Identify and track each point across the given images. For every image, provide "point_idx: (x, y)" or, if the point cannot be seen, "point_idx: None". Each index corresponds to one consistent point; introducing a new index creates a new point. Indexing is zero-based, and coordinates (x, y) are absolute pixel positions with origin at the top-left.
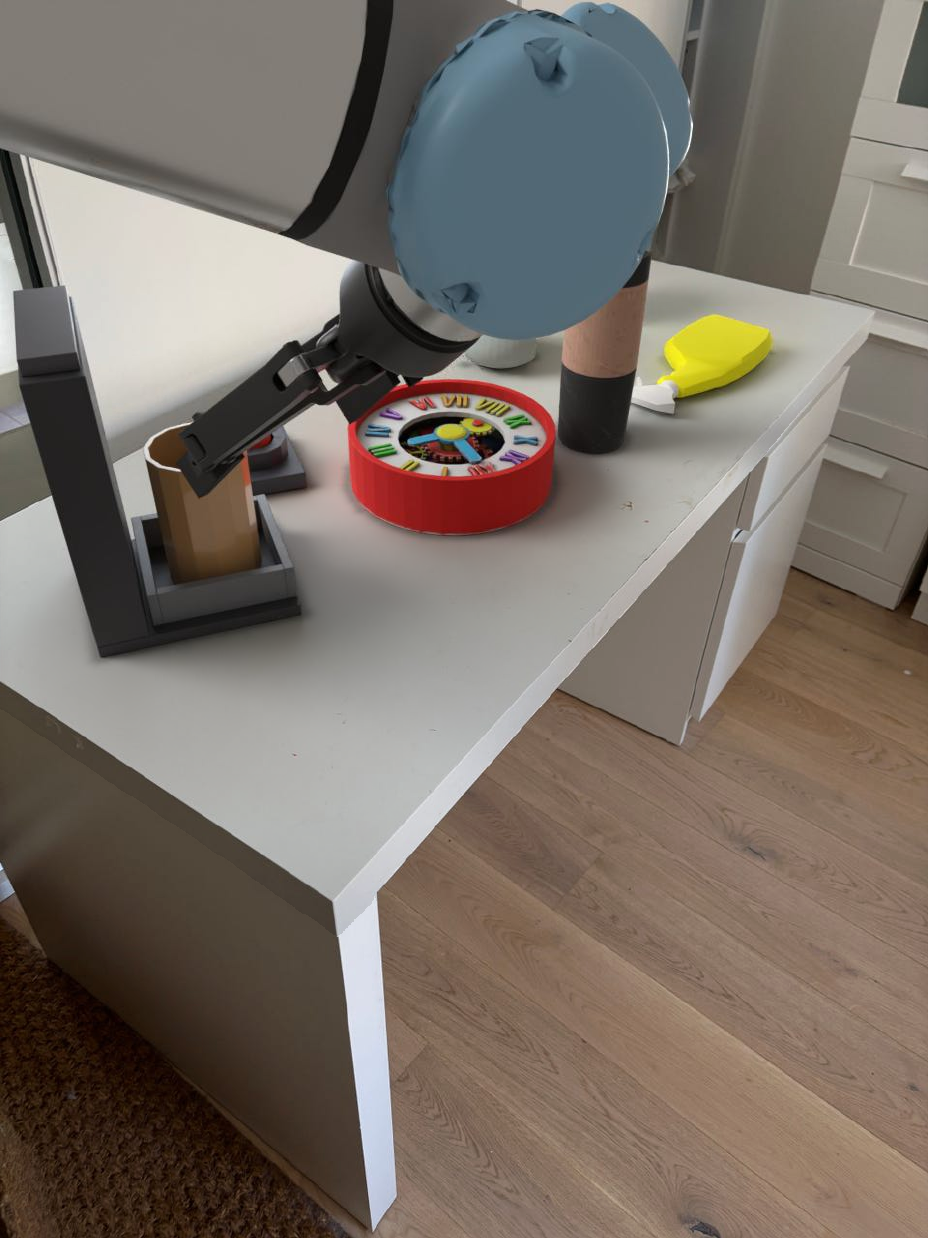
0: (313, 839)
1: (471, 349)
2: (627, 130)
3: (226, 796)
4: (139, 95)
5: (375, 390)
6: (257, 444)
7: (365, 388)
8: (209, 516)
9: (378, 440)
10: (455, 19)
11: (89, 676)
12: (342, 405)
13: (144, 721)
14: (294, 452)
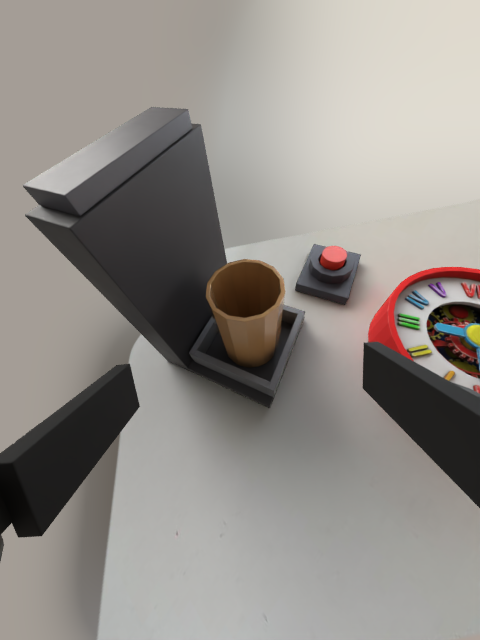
0: (123, 635)
1: None
2: None
3: (124, 528)
4: None
5: (429, 442)
6: (331, 267)
7: (413, 413)
8: (231, 339)
9: (411, 308)
10: None
11: (154, 369)
12: (367, 370)
13: (145, 423)
14: (352, 279)
